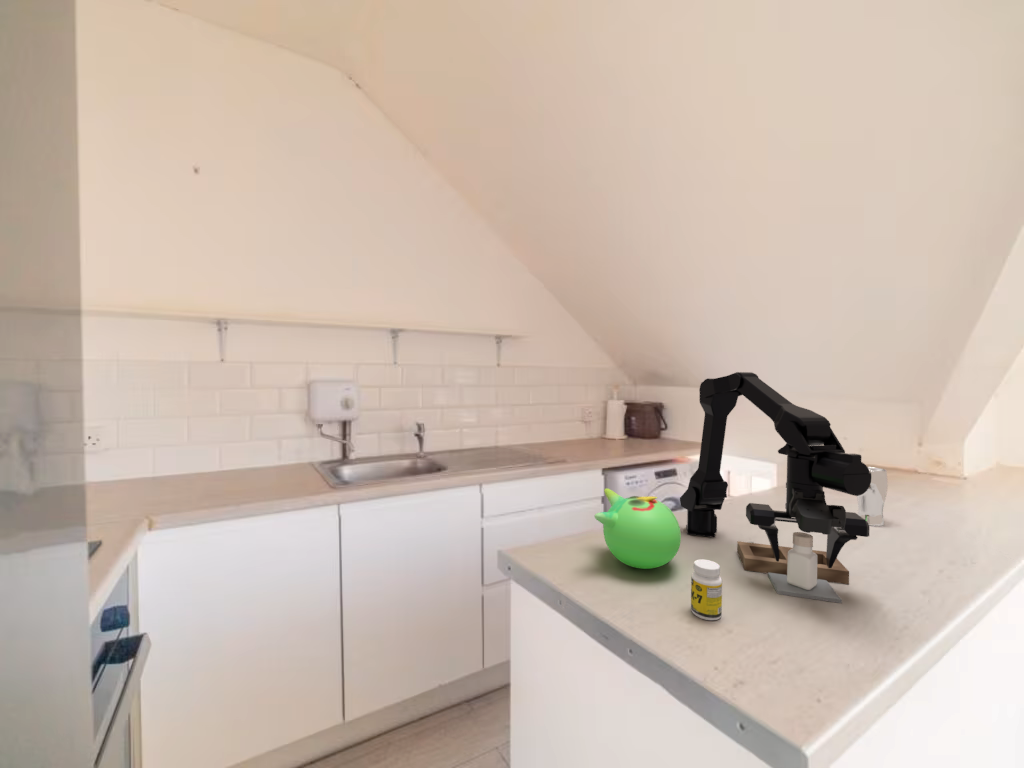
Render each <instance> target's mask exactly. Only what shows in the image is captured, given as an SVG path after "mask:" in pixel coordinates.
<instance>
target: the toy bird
mask: <svg viewBox="0 0 1024 768" xmlns="http://www.w3.org/2000/svg"><path fill="white" fill-rule="evenodd" d="M604 494H605V497H606V498H607V500H608V502H609V504H610V508H609V509H608V510H607V511H600V512H597V513H595V514H594V519H595V520H596V521H598V522H599V523H600V524H602V525H603V527H602V528H603V530H602V531H603V537H604V542H605V544H606V546H607V548H608V549H609V551H610V553H611V554H612V555H613V556H614V557H615V558H616V559H617V560H618V561H620V562H621V563H623V564H624V565H626V566H629V567H632V568H634V569H635V568H636V569H643V570H647V569H648V570H649V569H650V570H651V569H656V568H659V567H662V566H664V565H666V564H668V563H670V562H671V561H672V560H673V559H674V558H675V556H676V555H677V553H678V552H679V549H680V546H681V542H682V540H681V539H682V536H681V535H682V534H681V529H680V524H679V522H678V519H677V517H676V516H675V514H674V512H673V511H672V510H671V509H670V508H669V507H668V506H667V505H666V504H665V503H663V502H661V501H660V500H657V499H658V497H657V496H649V495H648V496H639V495H638V496H637V495H632V496H629V497H626V498H625V497H623V496H622V495H620V494H618V493H616V492H615V491H614V490H612V489H610V488H608V487H607V488H604Z"/></svg>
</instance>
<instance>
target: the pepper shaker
mask: <svg viewBox="0 0 1024 768" xmlns="http://www.w3.org/2000/svg"><path fill="white" fill-rule="evenodd" d="M792 544H793V546H792V547H791V548H792V549H790V550H789V551H788V562H787V582H788V583H789V584H792V585H795V586H798V587H800V588H803V589H806V590H810V589H812V588H813V587H815V586H816V584H817V558H818V556H817V554H815V553H814V552H812V550H813V548H814V545H813V544H814V537H813V535H812V534H810V533H807V532H803V531H797V532H796V531H795V532H792Z"/></svg>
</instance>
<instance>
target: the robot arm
mask: <svg viewBox="0 0 1024 768" xmlns="http://www.w3.org/2000/svg"><path fill="white" fill-rule="evenodd" d="M741 396H744V398H746V399H747V400H748V401H749V402H751V404H752V405H754V406H755V407H756V408H758V409H759V410H760V411H761V412H762V413H763V414H765V415H766V417H768V418H769V419H770V420H771V421H772V422H773V425H774V430H775V431H776V432H777V434H778V435H779V436H780V437H781V439H782V440H783V441H784V442H785V443H786V444H785V445H784V446H782V447H780V448H779V449H778V450H777V453H778V454H779V455H784V456H786V457H787V458H786V482H785V488H786V489H785V490H786V493H785V495H786V497H785V499H786V500H785V505H784V506H785V511H784V510H774V509H773V508H772V507H771V506H770V504H765V503H763V504H762V503H754V502H749V503H748V504H747V505H746V507H745V517H746V518H747V520H748V522H749V524H750V525H754V526H758V528H759V529H760V530H763V531H764V532H765V534H766V536H767V539H768V542H769V545H771V548H772V551H773V554H774V557H775V559H776V561H778V562H779V546H780V545H779V537H778V536H779V535H778V534H779V528H778V527H777V526H776V522H785V523H793V524H794V523H795V524H797V527H798V530H800V532H802V533H807V534H810V533H816V534H817V533H818V534H819V533H820V534H822V535H827V538H826V539H827V540H826V551H825V552H826V560H827V567H828V568H832V566H833V564H834V562H835V560H836V558H837V559H838V555H839V554H840V552H841V550H842V549H843V547H844V546H845V544H847V543H848V542H850V541H852V540H853V541H856V540H858V537H865V538H868V537H870V525H869V524H868V522H867V521H866V520H865V519H863V518H862V517H860V516H859V515H858V513H857V512H854V511H853V512H851V511H846V508H845V507H844V505H836V504H827V502H826V496H825V495H826V494H825V491H824V488H825V489H830V490H833V491H836V492H839V493H844V494H847V495H850V496H855V497H857V496H859V495H862V494H864V493H865V492H866V491H867V490H868V488H869V486H870V484H871V474H870V472H869V469H868V467H869V466H867V465H866V464H865V463H864V462H863V461H862V455H861V454H859V453H846V450H845V449H844V447H843V446H842V444H841V442H840V440H839V439H838V437H837V435H836V434H835V433H834V430H833V429H832V428H831V425H832V424H831V423H830V421H829V420H828V419H827V418H826V417H825V416H823V415H821V414H819V413H817V412H815V411H813V410H810V409H808V408H804V407H801V406H799V405H796V404H794V403H792V402H791V401H790V400H788V399H787V398H786V397H784V396H783V395H781V394H780V393H779V392H778V391H776V390H775V389H774V388H772V387H771V386H770V385H768V384H767V383H766V382H764V381H763V380H762V379H760V378H759V376H758V375H757V374H756V373H754V372H753V371H750V372H746V371H745V372H744V371H743V372H742V371H740V372H739V371H737V372H736V371H735V372H734V373H733V372H732V373H731V374H729V375H728V374H727V375H724V376H721V377H717V378H716V377H715V378H705V379H704V380H703V381H702V382H700V385H699V404H700V406H701V408H702V410H703V412H704V418H703V425H702V435H701V443H700V451H699V460H698V468H697V469H696V471H695V472H694V473H693V474H692V476H691V477H690V478H689V483H688V486H687V489H686V490H685V492H684V493H683V494H682V495H681V496H680V497H679V503H680V507H682V508H684V509H685V510H687V511H686V514H687V515H686V525H685V526H686V527H685V528H686V533H687V535H690V536H691V535H692V536H699V537H709V538H716V534H717V532H718V530H717V529H718V516H717V514H716V512H715V511H716V510H718V511H721V509H722V507H723V503H724V501H725V498H728V495H727V491H728V486H729V485H728V481H725V480H724V478H723V476H722V474H721V466H722V459H723V452H724V451H723V450H724V446H725V445H724V443H725V435H726V428H727V421H728V416H729V415H730V413H731V412H732V411H733V410H734V409H735V407H736V406H737V403H738V399H739V397H741Z"/></svg>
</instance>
